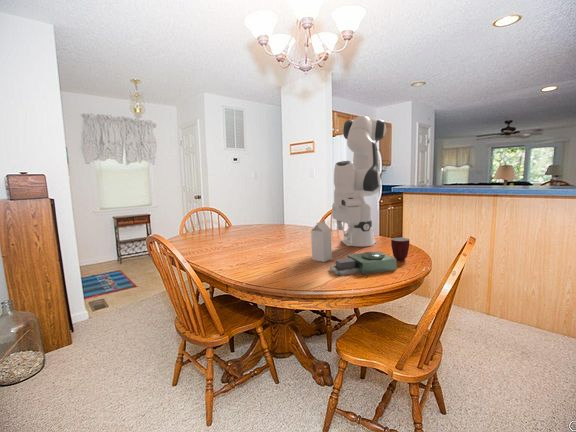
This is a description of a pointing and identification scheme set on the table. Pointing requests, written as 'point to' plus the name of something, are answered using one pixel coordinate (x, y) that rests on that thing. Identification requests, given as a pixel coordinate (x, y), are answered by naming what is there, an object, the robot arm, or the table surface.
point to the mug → (400, 248)
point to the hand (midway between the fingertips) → (345, 232)
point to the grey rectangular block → (345, 264)
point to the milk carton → (321, 242)
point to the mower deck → (368, 264)
